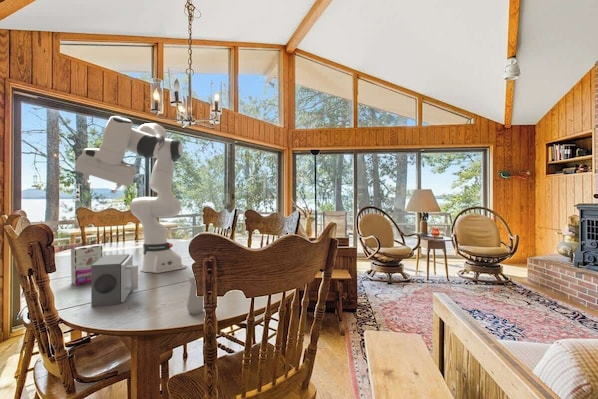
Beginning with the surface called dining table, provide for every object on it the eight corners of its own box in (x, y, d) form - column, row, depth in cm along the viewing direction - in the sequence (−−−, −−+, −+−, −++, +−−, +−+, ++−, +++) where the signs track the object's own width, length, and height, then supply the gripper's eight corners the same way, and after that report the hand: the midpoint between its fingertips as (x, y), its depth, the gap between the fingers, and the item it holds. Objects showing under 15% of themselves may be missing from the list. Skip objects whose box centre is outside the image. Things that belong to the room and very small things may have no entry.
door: (130, 287, 128) (130, 254, 127) (143, 286, 129) (143, 254, 129) (120, 302, 110) (120, 264, 110) (136, 300, 112) (136, 263, 112)
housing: (104, 290, 124) (104, 255, 124) (129, 288, 127) (129, 254, 127) (89, 308, 106) (90, 266, 105) (118, 305, 109) (119, 264, 108)
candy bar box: (97, 278, 142) (98, 244, 142) (103, 279, 140) (103, 245, 139) (70, 283, 133) (70, 247, 132) (75, 285, 130) (75, 248, 130)
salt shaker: (189, 309, 106) (189, 273, 106) (205, 308, 107) (206, 273, 106) (184, 315, 100) (184, 277, 100) (201, 315, 101) (202, 277, 101)
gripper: (140, 165, 124) (130, 195, 125) (85, 146, 117) (75, 179, 119) (136, 167, 118) (125, 199, 119) (78, 147, 111) (68, 182, 113)
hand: (100, 189), depth 119 cm, fingers open, 8 cm apart
